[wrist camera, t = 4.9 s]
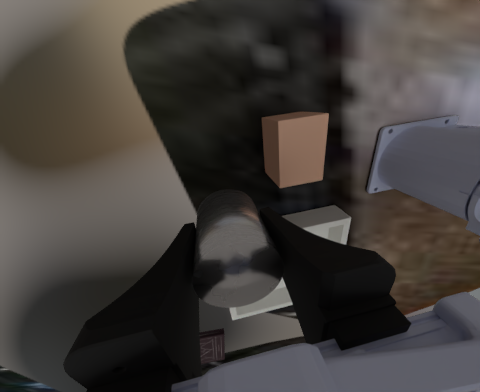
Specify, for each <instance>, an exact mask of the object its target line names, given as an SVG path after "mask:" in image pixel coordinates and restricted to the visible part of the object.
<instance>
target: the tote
mask: <svg viewBox="0 0 480 392" xmlns="http://www.w3.org/2000/svg"><path fill="white" fill-rule="evenodd" d="M282 217H283V218H285V219H287V220H288V221H290V222H292V223H293V224H295V225H297V226H299V227H300V228H302V229H304V230H306V231H309V232H311V233H313V234H315V235H318V236H320V237H323V238H326V239H329V240H331V241H335V242H338V243H341V244H345V245H346V241H347V236H348V231H349V226H350V221H351V217H350V216H349V215H347V214H346V213H345V212H343V211H342V210H341V209H339V208H338V207H337V206H336V205H332V206H327V207H322V208H317V209H313V210H308V211H303V212H298V213H294V214H289V215H284V216H282ZM289 305H293V304H292V301H291V298H290V296H289V293H288V290H287V288H286V285H285V283H284V280H283V278H282V279H281V281H280V283H279V284H278V286H277V287H276V288H275V289H274V290H273V291H272V292H271V293H270V294H269V295H267V296H266V297H264V298H263V299H261V300H259V301H257V302H255V303H252V304H249V305H246V306H241V307H234V308H230V312H231V316H232V320H236V319H240V318H243V317H247V316H251V315H255V314H259V313H263V312H266V311H270V310H274V309H278V308H282V307H286V306H289Z"/></svg>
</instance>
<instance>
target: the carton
mask: <svg viewBox="0 0 480 392" xmlns="http://www.w3.org/2000/svg"><path fill="white" fill-rule="evenodd" d="M328 117H329V113H317V112H302V111H301V112H295V113H288V114H282V115H275V116H269V117H262V131H263V147H264V163H265V172H266V173H267V175H268V176H269V177H270V178H271V179H272V180H273V181H274V182H275V183H276V184H277V186H278V187H279V188H284V187H289V186H294V185H299V184H304V183H309V182H315V181H320V180H323V169H324V159H325V148H326V138H327V128H328Z"/></svg>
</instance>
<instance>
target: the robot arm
mask: <svg viewBox="0 0 480 392" xmlns="http://www.w3.org/2000/svg"><path fill="white" fill-rule="evenodd" d="M458 119H459V117H458V115H451V116H445V117H439V118H434V119H428V120H422V121H416V122H410V123H404V124H398V125H392V126H386V127H383V128H382V129H381V130H380V133H379V137H378V142H377V146H376V151H375V155H374V159H373V164H372V168H371V173H370V177H369V181H368V186H367V192H368V193H376V192H380V191H385V190H390V189H396V190H399V191H401V192H403V193H405V194H408V195H410V196H412V197H415V198H417V199H419V200H421V201H424V202H426V203H428V204H430V205H433V206H435V207H437V208H439V209H442V210H444V211H446V212H449V213H451V214H453V215H455V216H458V217H460V218H462V219H464V220H467V221H469V222H468V225H467V227H466V229H467V230H469V231H471V232H473V233H475V234H478V235H480V127H476V126H463V125H456V124H457V122H458ZM389 130H390V131H389ZM260 216H261V218H262V220H263V222H264V224H265V226H266V228H267V230H268V232H269V234H270V236H271V238H272V240H273V242H274V244H275V246H276V248H277V250H278V252H279V254H280V256H281V258H282V261H283V264H284V273H283V276H282V278H283V280H284V283H285V285H286V288H287V290H288V293H289V296H290V298H291V301H292V304H293V306H294V309H295V312H296V315H297V317H298V320H299V323H300V326H301V328H302V332H303V334H304V337H305V340H306V343H301V344H294V345H289V346H286V347H282V348H278V349H275V350H271V351H268V352H264V353H261V354H257V355H254V356H250V357H247V358H243V359H239V360H236V361H232V362H229V363H225V364H222V365H220V366H218V367H215V368H213V369H210V370H209V371H208V372H207V373H206V374H205V375H204V376H202V373H201V356H200V333H199V297H198V295H197V294H196V293H195V291H194V288H193V266H194V252H195V238H196V228H195V224H194V223H189V224H185V225H184V226H183V227H182V229H181V230H180V232H179V233H178V235H177V236H176V238H175V239H174V241H173V242H172V243H171V245H170V246H169V248H168V249H167V250H166V252H165V253H164V254H163V255H162V257H161V258H160V259H159V260H158V261H157V262H156V264H155V265H154V266H153V267H152V268H151V269H150V270H149V271H148V272H147V273H146V274H145V275H144V276H143V277H142V278H141V279H140V280H138V281H137V282H136V283H135V284H134V285H133V286H132V287H131V288H130V289H129V290H127V291H126V292H125V293H124V294H122V295H121V296H120V297H119V298H117V299H116V300H115V301H114V302H112V303H111V304H110V305H108V306H107V307H106V308H104V309H103V310H101V311H100V312H99V313H97V314H96V315H94V316H93V317H92V318H90V319H89V320H87V321H86V322H85V324H84V326H83V328H82V329H81V331H80V333H79V335H78V337H77V339H76V340H75V342H74V344H73V346H72V348H71V349H70V351H69V353H68V355H67V357H66V359H65V361H64V364H63V365H64V369H65V372H66V373H67V374H68V375H69V376H70V377H71V378H73V379H74V380H76V381H77V382H78V383H80V384H81V385H82V386H84V387H85V388H87V392H480V301H479V300H477V299H476V298H475V297H473V296H472V295H470V294H469V293H468V292H462V293H458V294H455V295H451V296H447V297H444V298H442V299H440V300H439V301H438V302H437V303H436V304H435V305H434V308H433V310H432V311H429V312H426V313H422V314H419V315H415V316H412V317H408V318H406V317H405V316H404V315H403V314H402V313H401V312H400V311H399V310H398V309H397V308H396V306H395V304H396V301H395V300H394V299H393V298H392V297H391V296H390V294H389V293H390V290H391V288H392V285H393V283H394V281H395V277H396V273H395V269H394V268H393V266H392V265H390V264H389V263H388V262H387V261H386V260H385V259H383V258H382V257H381V256H380V255H379V254H378V253H376V252H375V251H371V250H366V249H361V248H357V247H352V246H348V245H345V244H341V243H338V242H335V241H331V240H329V239H326V238H323V237H320V236H318V235H315V234H313V233H311V232H309V231H306V230H304V229H302V228H300V227H299V226H297V225H295V224H293V223H292V222H290V221H288V220H287V219H285V218H283V217H282V216H280V215H279V214H278V213H276V212H275V211H273V210H272V209H270V208H269V207H267V208H262V209H260ZM479 242H480V239H479Z"/></svg>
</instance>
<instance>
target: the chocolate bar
mask: <svg viewBox="0 0 480 392" xmlns="http://www.w3.org/2000/svg"><path fill="white" fill-rule="evenodd" d="M199 333H200V356H201V364H204V363H209V362H214V361H218V360H223V359H225V353H224V328H222V329H216V330H211V331H205V332H199Z"/></svg>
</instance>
